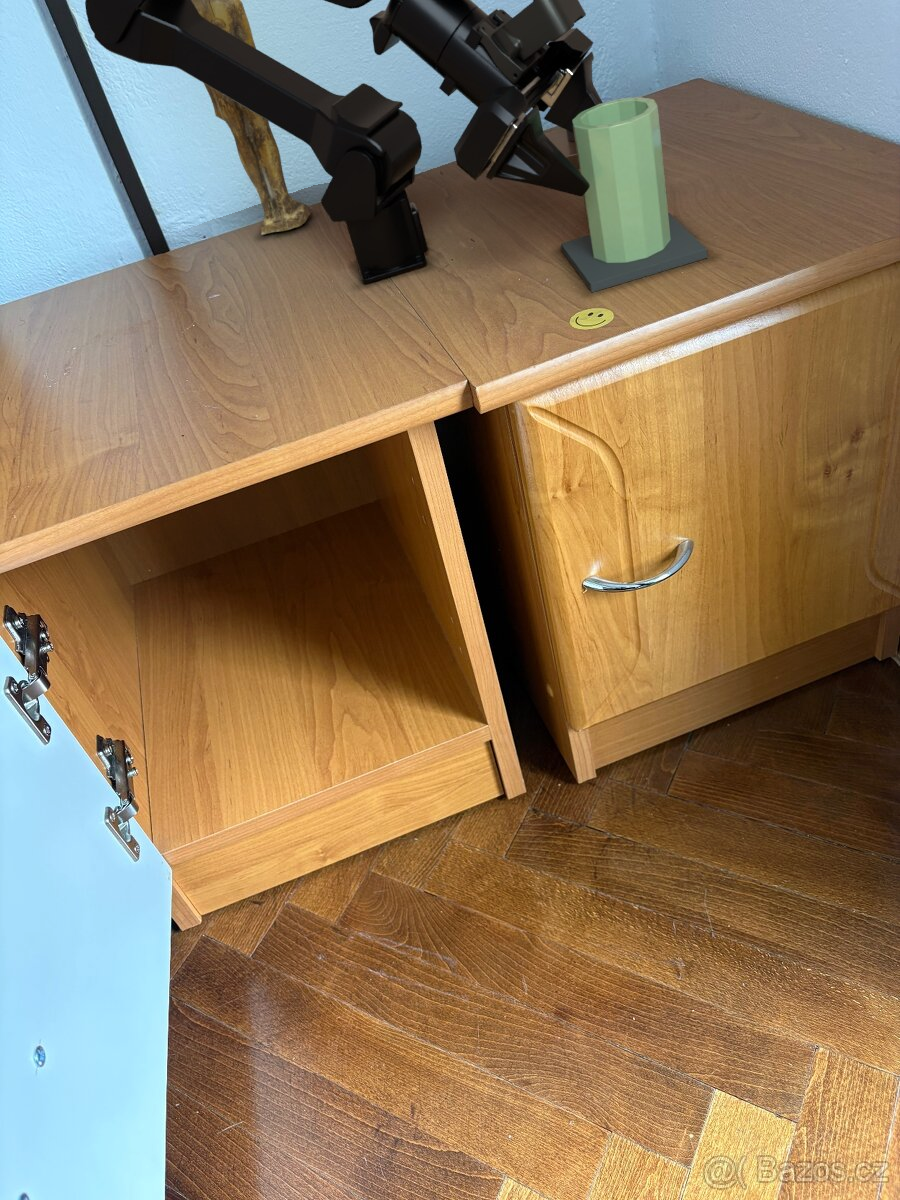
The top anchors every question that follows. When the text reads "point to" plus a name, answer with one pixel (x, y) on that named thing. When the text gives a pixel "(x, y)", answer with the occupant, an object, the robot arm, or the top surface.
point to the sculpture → (253, 130)
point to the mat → (610, 274)
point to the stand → (564, 144)
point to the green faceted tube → (623, 179)
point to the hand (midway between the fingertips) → (605, 168)
